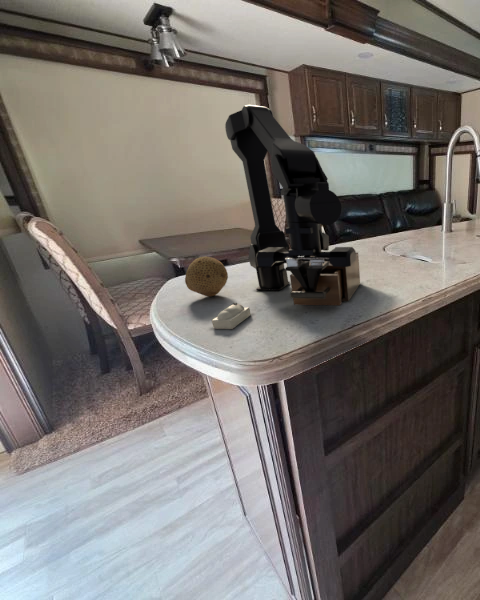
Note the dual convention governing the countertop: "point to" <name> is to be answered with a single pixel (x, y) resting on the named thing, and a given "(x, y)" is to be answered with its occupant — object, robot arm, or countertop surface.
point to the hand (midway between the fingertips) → (312, 297)
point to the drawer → (320, 289)
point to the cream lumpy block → (231, 317)
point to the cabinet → (348, 278)
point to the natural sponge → (206, 276)
